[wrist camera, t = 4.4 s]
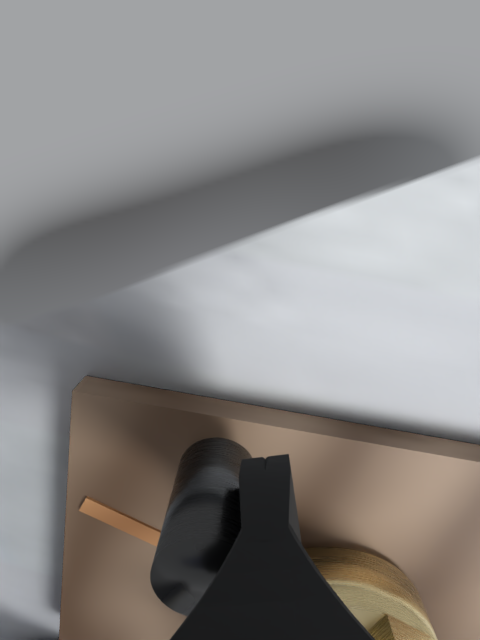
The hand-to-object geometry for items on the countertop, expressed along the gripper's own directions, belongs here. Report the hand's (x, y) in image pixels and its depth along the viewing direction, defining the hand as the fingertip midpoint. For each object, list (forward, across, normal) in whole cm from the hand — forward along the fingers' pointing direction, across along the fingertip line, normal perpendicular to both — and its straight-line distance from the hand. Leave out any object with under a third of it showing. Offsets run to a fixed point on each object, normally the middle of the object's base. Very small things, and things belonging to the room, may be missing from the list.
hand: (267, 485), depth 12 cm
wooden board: (+4, 0, +7) cm, 8 cm away
